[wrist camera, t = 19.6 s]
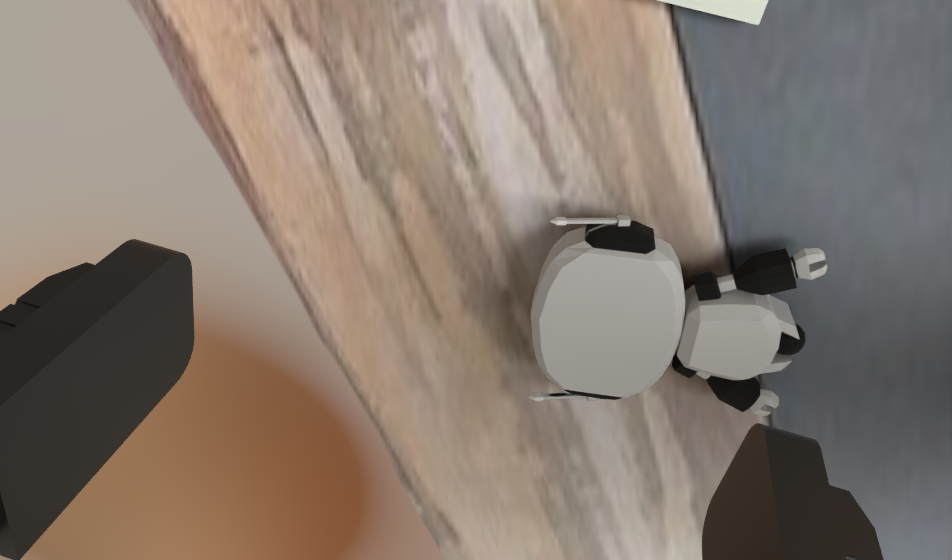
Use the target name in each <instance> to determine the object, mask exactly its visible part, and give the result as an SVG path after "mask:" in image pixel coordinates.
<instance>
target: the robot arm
mask: <svg viewBox="0 0 952 560" xmlns="http://www.w3.org/2000/svg"><path fill="white" fill-rule="evenodd" d="M193 345H194V316H193V286H192V266H191V261H190V259H189V258H188V256H187V255H186V254H184V253H181V252H177V251H174V250H170V249H167V248H164V247H160V246H157V245H154V244H150V243H147V242H143V241H139V240H136V239H133V240H129V241H126V242H125V243H123V244H122V245H121V246H119V247H118V248H117V249H116V250H114V251H113V252H112V253H110V254H109V255H108V256H106V257H105V258H104V259H102V260H101V261H100V262H99V263H97V264H96V265H93V264H90V263H84V264H81V265H79V266H76V267H73V268H70V269H68V270H65V271H62V272H60V273H57V274H55V275H52V276H49V277H47V278H45V279H44V280H43V281H41V282H40V283H39V284H37V285H36V286H34V287H33V288H32V289H30V290H29V291H28V292H26V293H25V294H23V295H22V296H21V297H19V298H18V299H17V302H16V304H15V305H12V304H10V305H8V306H7V307H6V308H4V309H3V310H2V311H0V555H1V556H4V557H7V558H10V559H13V560H20V559H21V558H22V557H23V555H24V554H25V553H26V552H27V551H28V550H29V549H30V548H31V547H32V545H33V544H34V543H35V542H36V541H37V540H38V539H39V537H40V536H41V535H42V534H43V533H44V532H45V531H46V530H47V528H48V527H49V526H50V525H51V524H52V523H53V522H54V520H55V519H56V518H57V517H58V516H59V515H60V514H61V513H62V511H63V510H64V509H65V508H66V507H67V506H68V505H69V503H70V502H71V501H72V500H73V499H74V498H75V497H76V495H77V494H78V493H79V492H80V491H81V490H82V489H83V488H84V487H85V485H86V484H87V483H88V482H89V481H90V480H91V479H92V477H93V476H94V475H95V474H96V473H97V472H98V471H99V470H100V468H101V467H102V466H103V465H104V464H105V462H106V461H108V459H109V458H110V457H111V456H112V455H113V454H114V453H115V451H116V450H117V449H118V448H119V447H120V446H121V445H122V444H123V442H124V441H125V440H126V439H127V438H128V437H129V436H130V434H131V433H132V432H133V431H134V430H135V429H136V428H137V426H138V425H139V424H140V423H141V422H142V421H143V420H144V419H145V418H146V416H147V415H148V414H149V413H150V412H151V411H152V410H153V408H154V407H155V406H156V405H157V404H158V403H159V402H160V400H161V399H162V398H163V397H164V396H165V395H166V394H167V393H168V391H169V390H170V389H171V388H172V387H173V386H174V385H175V383H176V382H177V381H178V380H179V379H180V377H181V376H182V374H183V373H184V371H185V369H186V367H187V365H188V363H189V360H190V358H191V354H192V351H193ZM702 558H703V560H883V556H882V553H881V549H880V546H879V542H878V538H877V535H876V531H875V528H874V527H873V525H872V524H871V522H870V521H869V519H868V518H867V517H866V515H865V514H864V512H863V511H862V509H861V508H860V506H859V505H858V503H857V502H856V500H855V499H854V497H853V496H852V495H851V493H850V492H849V491H847V490H843V489H840V488H837V487H833V486H830V485H829V483H828V478H827V474H826V469H825V465H824V461H823V456H822V452H821V448H820V446H819V444H818V442H817V441H816V440H814V439H811V438H807V437H804V436H800V435H797V434H794V433H790V432H787V431H783V430H780V429H776V428H773V427H770V426H766V425H763V424H759V423H758V424H755V425H754V426H752V427H751V429H750V430H749V431H748V433H747V435H746V437H745V438H744V440H743V442H742V444H741V446H740V448H739V449H738V451H737V453H736V455H735V457H734V459H733V460H732V462H731V464H730V466H729V468H728V470H727V471H726V473H725V475H724V477H723V479H722V481H721V482H720V484H719V486H718V488H717V490H716V492H715V493H714V495H713V497H712V499H711V502H710V504H709V507H708V510H707V514H706V517H705V522H704V527H703V535H702Z"/></svg>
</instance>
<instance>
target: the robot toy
mask: <svg viewBox="0 0 952 560" xmlns="http://www.w3.org/2000/svg"><path fill="white" fill-rule="evenodd" d="M550 222H552V223H554V224H556V225H567V224H588V225H587V226H586V227H583V228H579V229H575V230H572V231H568V232H566V233H565V234H564V235H563V236H562V237H561V238H560V239H559V240H558V241H557V242H556V243H555V244H554V245H553V247H552V248H551V250H550V251H549V253H548V256H547V258H546V260H545V262H544V264H543V266H542V269H541V272H540V276H539V279H538V282H537V285H536V289H535V292H534V295H533V301H532V307H531V314H530V315H531V328H532V341H533V347H534V352H535V356H536V360H537V362H538V365H539V367H540V368H541V370H542V371H543V373H544V374H545V375H546V377H547V378H548V379H549V380H550V381H552V382H553V383H555V384H557V385H558V386H560V387H561V388H563V389H564V390H565V391H567V392H569V393H555V394H543V393H534V394H532V395H531V396H530V397H529V398H531V399H533V400H534V401H543V399H570V398H587V400H598V398H599V399H612V400H616V399H621V398H627V397H630V396H633V395H636V394H639V393H642V392H644V391H645V390H646V389H648V388H649V387H651V386H652V385H653V384H655V383H656V382H657V381H658V380H659V379H660V377H661V376H662V375H663V373H664V372H665V370H666V369H667V367H668V366H669V364H670V363H671V361H672V358H673V362H672V366H673V368H674V370H675V371H677V372H679V373H681V374H682V375H684V376H686V377H688V378H690V377H692V376H693V375H695V374H697V375H698V376H700V377H702V378H704V379H706V381H707V382H708V384H709V386H710V387H711V389H712V390H713V392H714V393H715V395H716V396H717V397H718V399H719V400H721V401H723V402H725V403H727V404H729V405H731V406H732V407H734V408H736V409H738V410H740V411H742V412H744V411H746V410H747V409H749V410H750V411H751V412H752V413H753V414H756V415H760V416H763V417H764V416H766V415H769V414H770V413H771V412H772V411H771V407H773V408H776V407H777V406H778V404H779V397H778V396H777V395H776V394H774V393H773V392H772V391H771V390H769V389H764V388H760V384H759V382H758V381H757V379H756V378H755V377H754V376H756V375H759V374H763V373H771V372H778V371H782V370H783V369H784V368H785V367H786V366H787V365H788V364H790V363H791V362H792V359H791V356H790V355H792V354H795V353H798V352H799V351H800V350H801V349H802V348H803V346H804V344H805V333H804V331H803V330H802V328H801V327H800V326H799V325H797V324H796V323H795V322H794V320H793V317H792V314H791V311H790V309H789V306H788V303H786V302H784V301H782V300H779V299H777V298H775V297H773V296H771V295H769V294H772V293H776V292H781V291H785V290H789V289H794V288H797V287H796V281H795V277H797V278H803V279H809V280H813V279H815V278H817V277H819V276H822V275H824V274H825V272H826V270H827V264H826V262H825V260H826V259H825V254H824V252H823V251H822V250H820V249H819V248H817V247H816V248H803V249H801V250H800V251H799V252H797V253H796V254H795V255H793V256H792V257H791V258H789V256H788V253H787V251H786V249H781V250H777V251H773V252H769V253H765V254H761V255H757V256H752V257H751V258H750V259H748V260H747V261H746V262H745V263H744V264H743V265H741V266H740V267H739V268H738V269H737V270H736V271H735V272H734V273H733V274H730V275H726V276H721V277H716V274H714V273H713V272H712V271H711V272H707V273H703V274H699V275H695V276H693V280H694V285H692V286H691V287H690V288H688V289H687V290H686V291H684V284H683V278H682V272H681V266H680V262H679V259H678V257H677V255H676V253H675V251H674V250H673V248H672V246H671V244H670V243H668V242H666V241H664V240H662V239H660V238H658V237H656V236H654V231H653V229H652V228H650V227H647V226H645V225H643V224H641V223H638V222H636V221H631V219H630V218H629V216H628V215H616V218H566V217H555V218H554V219H552V220H550ZM822 260H823V261H822ZM676 351H677V352H676ZM675 352H676V354H675ZM674 354H675V355H674ZM673 356H674V357H673ZM766 404H767V405H766ZM768 405H769V406H768ZM770 406H771V407H770Z"/></svg>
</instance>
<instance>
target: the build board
mask: <svg viewBox="0 0 952 560" xmlns="http://www.w3.org/2000/svg"><path fill="white" fill-rule="evenodd" d="M658 1H662V2H666V3H670V4H674V5H678V6H682V7H686V8H690V9H694V10H698V11H703V12H707V13H711V14H715V15H719V16H723V17H727V18H731V19H735V20H739V21H743V22H747V23H751V24H755V25H759V23H760V21H761V18H762V15H763V13H764V10H765V8H766V5H767V3H768V0H658Z"/></svg>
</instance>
